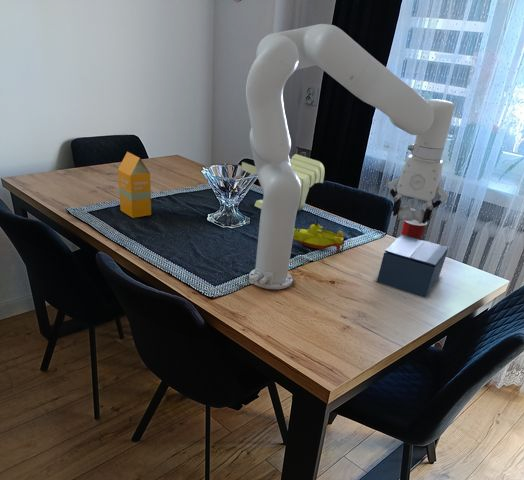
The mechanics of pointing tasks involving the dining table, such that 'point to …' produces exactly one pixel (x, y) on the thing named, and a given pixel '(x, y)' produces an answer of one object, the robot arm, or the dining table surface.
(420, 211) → the pale two-lobed sculpture
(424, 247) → the carton
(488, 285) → the dining table surface
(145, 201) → the orange juice
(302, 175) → the slatted curved stool
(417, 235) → the paper cup
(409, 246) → the flap
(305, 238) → the toy boat
